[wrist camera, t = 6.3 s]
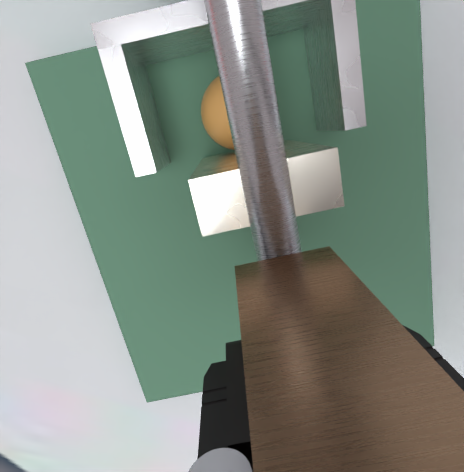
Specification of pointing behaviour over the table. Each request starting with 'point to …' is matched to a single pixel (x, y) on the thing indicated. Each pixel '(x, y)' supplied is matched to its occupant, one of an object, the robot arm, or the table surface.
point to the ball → (216, 115)
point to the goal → (199, 40)
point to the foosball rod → (311, 296)
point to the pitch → (240, 240)
